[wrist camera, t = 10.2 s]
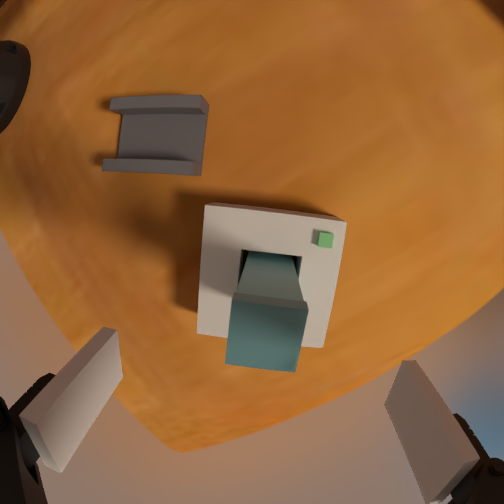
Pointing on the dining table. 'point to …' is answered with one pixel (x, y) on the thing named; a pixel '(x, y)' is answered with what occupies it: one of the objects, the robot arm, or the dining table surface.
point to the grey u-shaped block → (160, 134)
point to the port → (273, 241)
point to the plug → (267, 314)
